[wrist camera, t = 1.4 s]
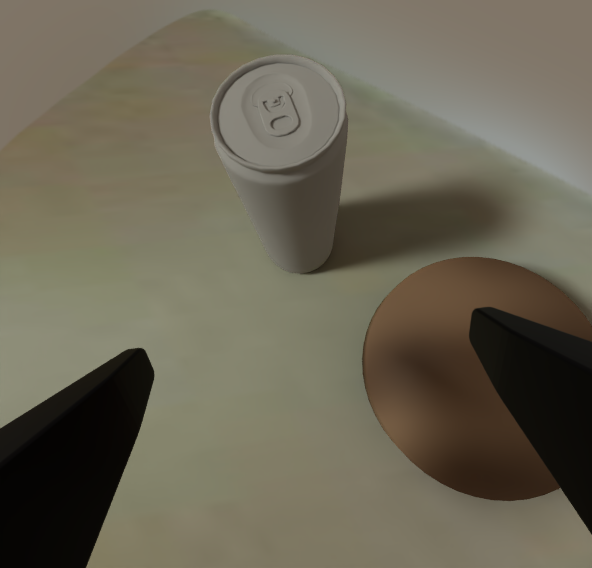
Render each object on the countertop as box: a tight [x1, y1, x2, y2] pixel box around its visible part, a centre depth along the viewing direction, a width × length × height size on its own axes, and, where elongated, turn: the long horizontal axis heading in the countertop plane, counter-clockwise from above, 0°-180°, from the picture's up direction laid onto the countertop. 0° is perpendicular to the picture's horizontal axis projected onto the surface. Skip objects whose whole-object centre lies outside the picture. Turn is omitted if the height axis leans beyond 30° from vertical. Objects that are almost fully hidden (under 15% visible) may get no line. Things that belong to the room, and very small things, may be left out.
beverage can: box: [210, 55, 348, 274], centre depth 16 cm, size 5×5×12 cm
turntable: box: [362, 257, 592, 501], centre depth 17 cm, size 12×12×2 cm
